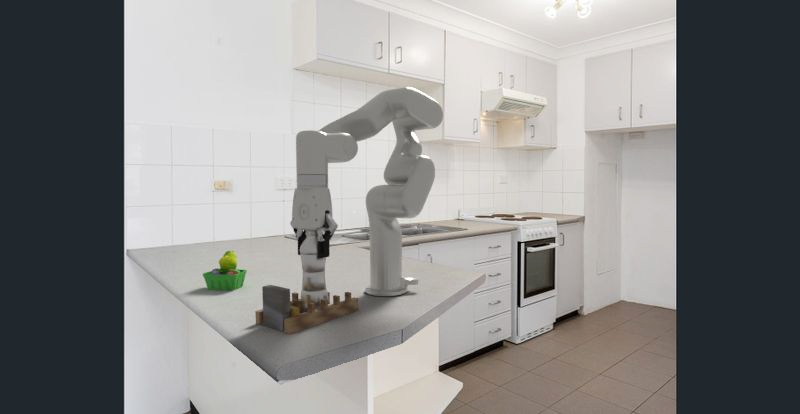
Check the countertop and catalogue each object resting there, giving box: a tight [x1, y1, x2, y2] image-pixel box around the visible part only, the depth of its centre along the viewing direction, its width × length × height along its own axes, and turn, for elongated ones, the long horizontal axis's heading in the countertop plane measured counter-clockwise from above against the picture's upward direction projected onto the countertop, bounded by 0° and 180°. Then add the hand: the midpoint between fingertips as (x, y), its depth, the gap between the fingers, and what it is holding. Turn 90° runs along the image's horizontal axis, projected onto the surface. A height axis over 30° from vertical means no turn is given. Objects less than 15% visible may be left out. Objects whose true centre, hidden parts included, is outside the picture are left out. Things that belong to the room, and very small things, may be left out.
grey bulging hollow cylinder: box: [299, 230, 328, 309], centre depth 107 cm, size 6×7×20 cm
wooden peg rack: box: [255, 284, 360, 335], centre depth 106 cm, size 22×12×9 cm, turn 143°
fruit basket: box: [202, 250, 248, 291], centre depth 137 cm, size 11×9×11 cm
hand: (313, 255), depth 107 cm, fingers closed on grey bulging hollow cylinder, 6 cm apart
